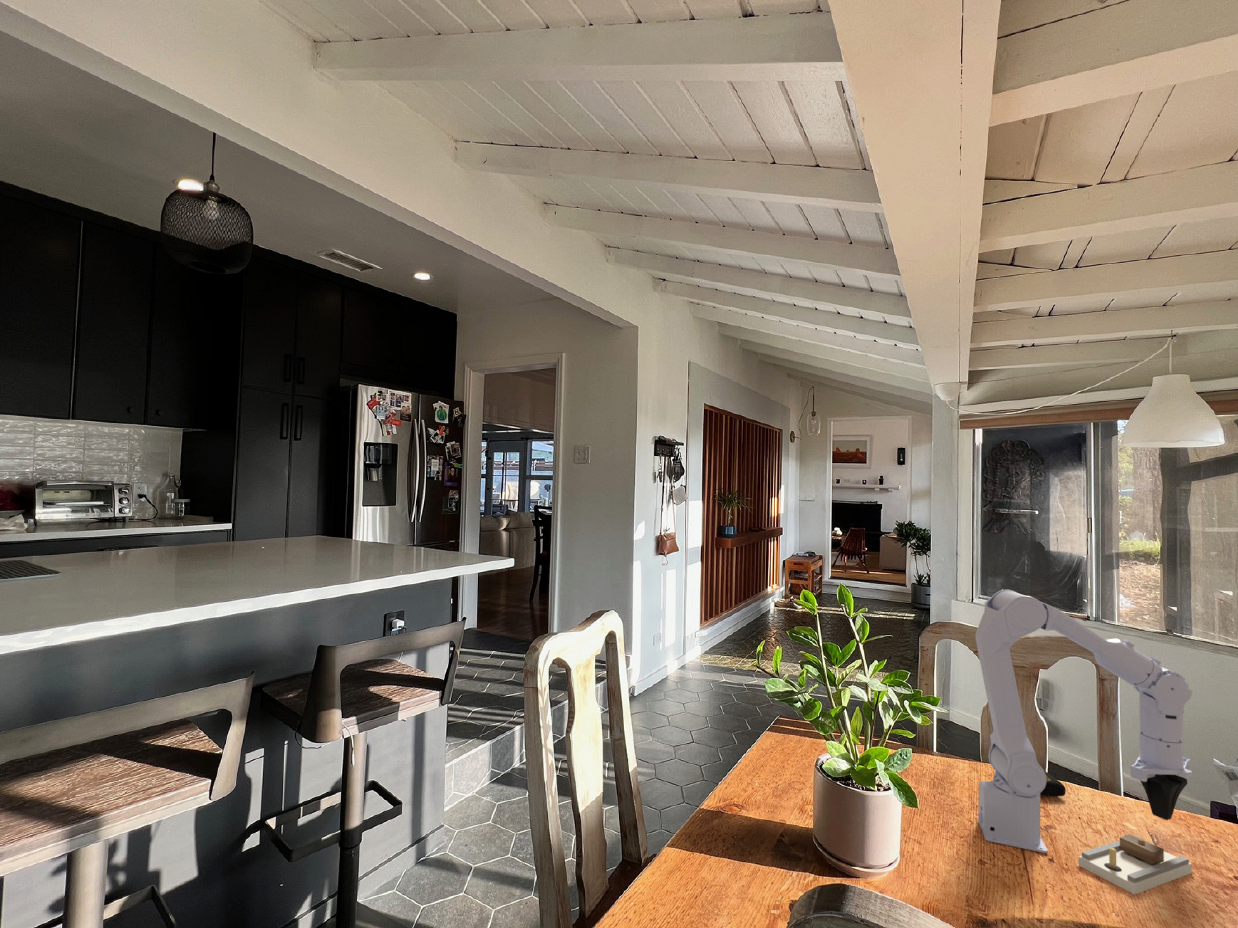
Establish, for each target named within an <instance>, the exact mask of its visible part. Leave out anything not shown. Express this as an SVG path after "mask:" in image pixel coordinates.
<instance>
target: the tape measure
mask: <svg viewBox="0 0 1238 928" xmlns="http://www.w3.org/2000/svg"><path fill="white" fill-rule="evenodd" d="M1044 772H1045V774H1046V786H1045V788H1044V790H1043V791H1042V792H1040V796H1043V797H1049V798H1050V797H1063V796H1065V795H1066V791H1067V790H1066V787H1065V785H1064V784H1063V783H1062V782H1061V781H1059V780H1058V779H1056V778H1055V777H1054V776H1052V775H1051V774H1050V773H1049V772H1047V771H1045V770H1044Z"/></svg>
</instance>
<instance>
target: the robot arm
mask: <svg viewBox="0 0 1238 928" xmlns="http://www.w3.org/2000/svg"><path fill="white" fill-rule="evenodd" d="M1037 630H1044V631H1046V632H1048V631H1055V632H1056V633H1058V634H1060V635H1062V636H1064V637H1066V638H1067V639H1069V640H1070V641H1072V642H1074V643H1076V644H1077V645H1079V646H1081V647H1083V648H1085V649H1086V650H1087V651H1089V652H1091V653H1092V654H1093V655H1094V660H1095V662H1096V663H1097V665H1098V666H1100V667H1101V668H1103V669H1105V670H1106V671H1108V672H1109V673H1111V674H1113V675H1114V676H1116V677H1118V678H1119V679H1121V680H1123V681H1124V682H1125V683H1126V682H1127V684H1129V685H1131V686H1132V687H1133V688H1134V690H1136V691H1137V692H1139V756H1138V757H1137V759H1136V760H1135V762H1134V764H1132V765H1130V778H1133V779H1136V780H1138V781H1139V782H1140V783H1141V785H1142V787H1143V789H1144V791H1145V794H1146V797H1147V799H1148V804H1149V807H1150V809H1151V814H1152V815H1153V816H1155V817H1158V818H1160V819H1162V820H1164V821H1168V820H1171V819H1172V817H1173V815H1174V811H1175V808H1176V804H1177V801H1178V798H1179V796H1180V795H1181V793H1182V791H1183V790H1184V789H1185V788H1186V786H1187V785H1188V779H1187V778H1185V777H1192V776H1193V771H1192V762H1191V761H1192V760H1191V759H1190V758H1187V757H1184V713H1185V705H1186V704H1188V702H1189V701H1190V700H1191V698H1192V695H1193V690H1192V689H1190V688H1189V684H1188V682H1187V681H1186V679H1185V678H1184V676H1182V675H1181V674H1180V673H1178V672H1176V671H1173V670H1171V669H1168V668H1166V667H1163V666H1162V662H1161V661H1160V660H1159V659H1157V658H1155V657H1151V658H1150V657H1149V656H1147V655H1145V654H1143V652H1140V651H1139V650H1137V649H1136V648H1135V644H1134V643H1133V642H1131V641H1129V640H1126V639H1122V640H1121V639H1119V638H1103V637H1102V636H1101V635H1099V634H1098V633H1096V632H1094V631H1092V630H1091V629H1089V628H1088V627H1087V626H1085V625H1083V624H1082V623H1080V622H1079V621H1078V620H1075V619H1074V617H1073V618H1072V617H1071V616H1070V615H1069V614H1067V613H1065V612H1064V611H1062V610H1060V609H1059V608H1056V607H1055V606H1052V605H1050V604H1047V603H1045V602H1042V601H1040V600H1039V599H1037V598H1035V597H1033V596H1030V595H1024V594H1021V593H1018V592H1017V591H1015V590H1011V589H1001V590H999V591H997V592H995V593H994V594H993V595H992V596H990V597H989V599H988V600H986V601H985V602H984V611H983V614H982V616H981V619H980V621H979V624H978V626H977V629H976V632H975V643H976V647H977V653H978V658H979V664H980V668H981V669H980V670H981V673H982V678H983V684H984V688H985V694H986V698H987V705H988V710H989V713H990V719H991V720H990V721H991V724H992V729H993V730H992V732H991V734H990V735H989V738H990V748H989V751H988V761H989V763H990V765H991V767H992V768H993V769H994V774H993V777H992V780H990V781H989V780H988V781H986V780H985V781H984V780H981V781H979V782H978V818H977V821H978V824H979V827H980V830H981V831H982V834H983V838H984V839H985V841H986V842H991V843H994V844H1000V845H1004V846H1005V845H1006V846H1008V847H1009V846H1010V847H1013V848H1019V849H1024V850H1028V851H1034V852H1038V853H1041V854H1049V850H1048V848H1047V846H1046V844H1045V842H1044V840H1043V839H1042V837H1041V795H1040V792H1042V791H1043V790H1044V788H1045V786H1046V774H1045V772H1044V771H1045V770H1044V768H1042V766H1041V765H1040V764H1039V762H1038V760H1037V756H1036V752H1035V750H1034V748H1033V745H1032V744H1031V741H1030V739H1029V738H1028V735H1027V730H1026V725H1025V721H1024V714H1023V709H1022V704H1021V699H1020V695H1019V691H1018V685H1017V681H1016V676H1015V670H1014V665H1013V661H1012V655H1011V650H1010V649H1011V647H1012V646H1013V645H1014V644H1015V643H1016V642H1018V640H1019V639H1021V638H1023V637H1025V636H1028V635H1029V634H1032V633H1034V632H1036V631H1037Z"/></svg>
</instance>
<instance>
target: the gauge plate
mask: <svg viewBox="0 0 1238 928" xmlns="http://www.w3.org/2000/svg"><path fill="white" fill-rule="evenodd" d="M1134 836H1135V837H1138V838H1140V839H1143V838H1141V837H1139V836H1137V835H1134ZM1078 867H1081V868H1082V869H1084V870H1085V871H1088V872H1091V873H1092V874H1094V875H1096V876H1098V877H1099V878H1102V879H1104V880H1106V881H1107V882H1110V883H1112V884H1113V885H1115V886H1118V887H1120V889H1123V890H1125V891H1127V892H1129V893H1131V894H1132V895H1137V894H1140V893H1143V892H1146V891H1149V890H1151V889H1154V888H1157V887H1159V886H1162V885H1163V884H1167V883H1169V882H1172V881H1174V880H1177V879H1180V878H1182V877H1186V876H1187V875H1191V874H1192V873H1193V863H1191V862H1189V858H1187V857H1185V856H1182V855H1180V856H1175V855H1173V854H1172V853H1169V852H1166V851H1165V850H1164V862H1161V863H1158V864H1155V865H1152V864H1150V863H1148V862H1146V861H1144V860H1142V859H1139V858H1137V857H1135V856H1133V855H1131V854H1129V853H1127V852H1125V851H1122V850H1120V839H1119V840H1117V841H1112V842H1110V843H1107V844H1103V845H1100V846H1097V847H1094V848H1091V849H1087V850H1084V851H1081V855H1079V856H1078Z"/></svg>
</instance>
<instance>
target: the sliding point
mask: <svg viewBox="0 0 1238 928" xmlns="http://www.w3.org/2000/svg"><path fill="white" fill-rule="evenodd" d="M1135 836H1136V835H1133V834H1125V835H1122V836H1120V837H1119V840H1120V850H1122V851H1125V852H1127V853H1129V854H1131V855H1133V856H1135V857H1137V858H1139V859H1142V860H1144V861H1146V862H1148V863H1150V864H1152V865H1155V864H1158V863H1161V862H1164V851H1165V849H1164V848H1163V847H1160V846H1157V845H1155V844H1153V843H1151V842H1149V841H1146V840H1145V839H1143V838H1142V839H1140V838H1141V837H1140V838H1138V837H1139V836H1137V837H1135Z"/></svg>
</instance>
